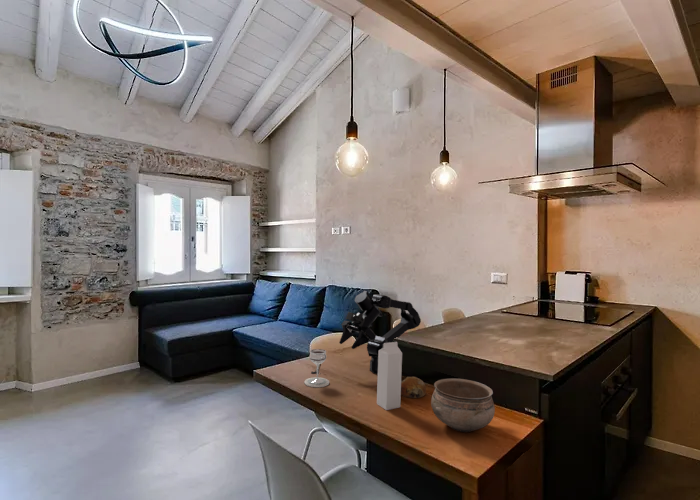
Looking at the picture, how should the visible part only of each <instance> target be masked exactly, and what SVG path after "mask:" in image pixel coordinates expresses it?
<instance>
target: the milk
mask: <svg viewBox="0 0 700 500" xmlns="http://www.w3.org/2000/svg"><path fill="white" fill-rule="evenodd" d="M402 365H403V352H402V351H401V349H400V348H399V346H398V341H394V342H391V343H384V344H383V348H382V349H380V350H379V352H378V373H377V385H376V386H377V387H376V405H378V406H379V407H380V408H382V409H384V410H385V411H390V410H393V409H398V408H401V396H402V395H401V382H402V372H403V371H402V370H403V369H402V368H403V367H402Z"/></svg>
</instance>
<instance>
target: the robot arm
mask: <svg viewBox="0 0 700 500" xmlns="http://www.w3.org/2000/svg"><path fill="white" fill-rule="evenodd" d="M354 302H355V304H357V306H358V307H359V309H360V310H361V311H363V313H360V312H357V313H354V312H352V311H348V312H347V315H346V317H345V320H343V322H342V323H341V327H342V330H343V331H342V334H341V337H340V339H339V344H340V345H343V344H344V343H345V342H347V341H348V340H349V339H350V338H351V337H353V335H354V334H356V333H358V336H357V338H356V339H355V340H354V342H353V344H352V345H351V349H352V350H354V349H357V348H359V347H361V346H363V345H365V344H367V345H366V351H367V355H368V357H371V359H370V360H369V371H370V372H372V373H373V374H374V375H375V374H377V375H378V352H379V350H380V349H382V348H383V344H384V343H391V342H392V341H393V339H394V338H396V337H398V338H399V337H401V336H403V334H404V333H406V332H407V331H409V330H410V331H411V330H412V329H415V328H417V327H419V326H420V325H421V322H422V319H421V316H420V314H419V313H418V311H417V310H416V309H415V308H414V306H413V304H412V303H411V302H409V301H402V300H397V299H393V298H391V297H389V296H388V295H386V294H385V295H384V294H377V293H376V294H373V295H372V296H371V295H370V294H369V292H368V291H366V290H363V292H361V293H359V294H357V295H355V298H354ZM379 308H380V309H390V308H393V309H397V310H398V309H400V317H401V318H400V322H398V324H396V325H394V327H393V328H391V329H389V331H388V332H386V333H385V334H384V335H382V336H378V335H377V334H375V332H374V331H373V330H372V329H371V327H373V326H374V321H376V319H377V318H378V317H380V318H383V310H380V309H379ZM348 320H349V321H348Z"/></svg>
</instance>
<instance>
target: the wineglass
mask: <svg viewBox="0 0 700 500" xmlns="http://www.w3.org/2000/svg"><path fill="white" fill-rule="evenodd" d="M309 353H310V354H309V360H310V362H311V363H313V364H314V365H315V366H316V367H317V374H316V377H317V379H313V380H311V382H313V383H322V382H323V380H321V379H318V378H319V374H318V367H319V365H320V364H323V363H324V362H325V361H326V360H327V350H326V349H321V348H317V349H316V348H314V349H310V350H309ZM320 366H321V365H320Z"/></svg>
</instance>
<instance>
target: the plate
mask: <svg viewBox="0 0 700 500" xmlns="http://www.w3.org/2000/svg"><path fill="white" fill-rule="evenodd" d="M313 379H317V376H315V377H309V378H306V379H305V380H304V385H305V386H306V387H309V388H325V387H328V386H329V385H330V380H329V379H327V378H325V377H318V379H321V380H323V382H322V383H313V382H311V380H313Z"/></svg>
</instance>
